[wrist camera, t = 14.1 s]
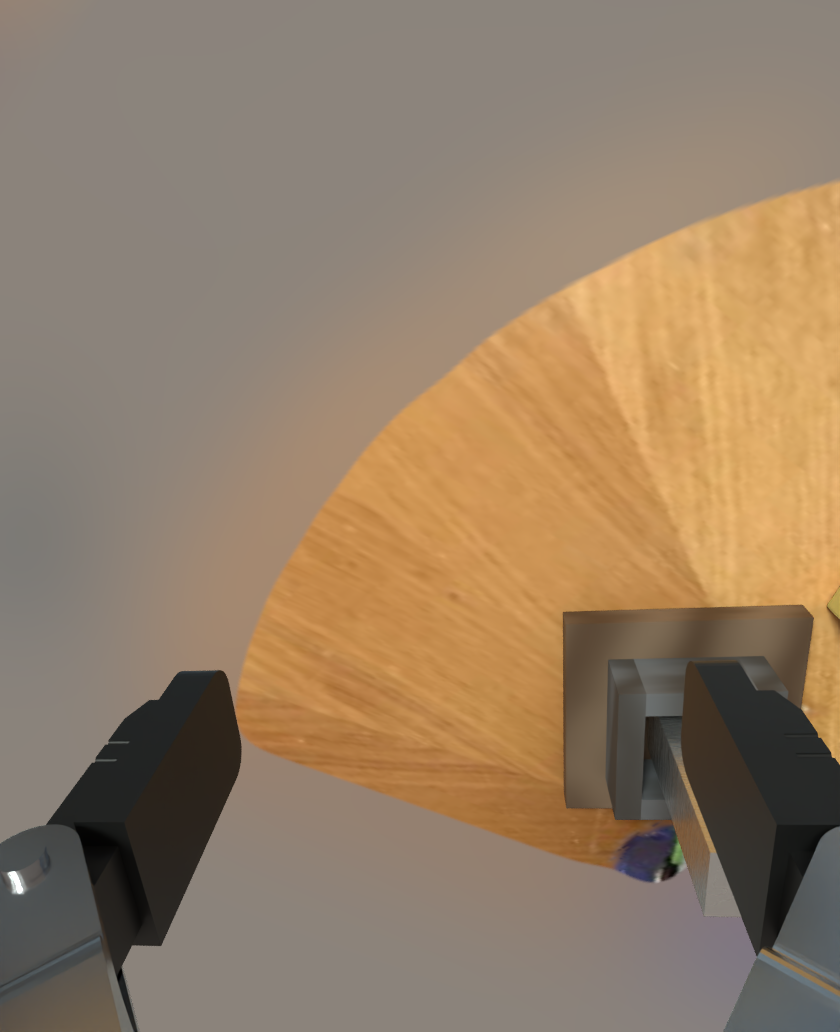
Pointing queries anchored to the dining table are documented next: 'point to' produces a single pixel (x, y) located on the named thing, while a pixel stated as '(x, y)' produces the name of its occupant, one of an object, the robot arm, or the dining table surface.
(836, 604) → the candy box
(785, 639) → the square peg hole frame
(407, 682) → the dining table surface
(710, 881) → the square grey peg
